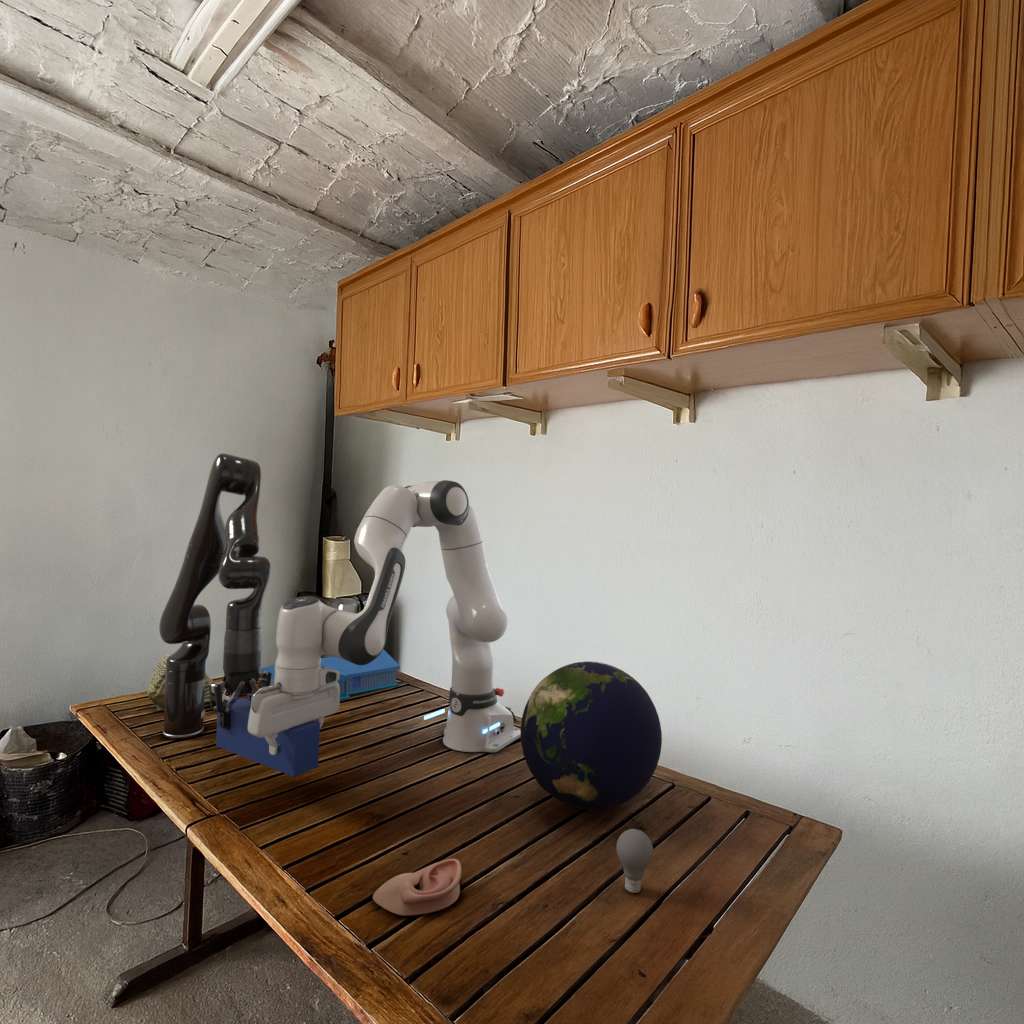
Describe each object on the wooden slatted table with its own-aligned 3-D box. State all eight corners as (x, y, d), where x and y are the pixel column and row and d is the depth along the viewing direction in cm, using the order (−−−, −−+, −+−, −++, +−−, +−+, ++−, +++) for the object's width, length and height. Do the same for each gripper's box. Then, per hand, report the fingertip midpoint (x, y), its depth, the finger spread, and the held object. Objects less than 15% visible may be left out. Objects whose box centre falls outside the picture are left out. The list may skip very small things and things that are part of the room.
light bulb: (610, 879, 108) (613, 822, 108) (644, 879, 109) (647, 822, 109) (619, 902, 102) (622, 840, 102) (655, 901, 103) (658, 840, 103)
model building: (289, 709, 186) (291, 675, 185) (258, 688, 204) (259, 657, 204) (403, 687, 212) (405, 657, 212) (366, 670, 230) (368, 643, 230)
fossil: (144, 707, 182) (145, 655, 182) (212, 696, 194) (213, 647, 194) (151, 716, 175) (153, 662, 175) (221, 703, 188) (223, 653, 188)
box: (215, 746, 137) (217, 704, 137) (240, 737, 142) (242, 697, 142) (293, 777, 124) (295, 731, 124) (318, 767, 129) (320, 723, 129)
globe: (495, 817, 128) (501, 670, 127) (544, 763, 155) (549, 641, 155) (643, 855, 116) (651, 693, 116) (668, 789, 144) (674, 658, 144)
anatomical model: (365, 883, 98) (393, 844, 109) (364, 909, 98) (392, 867, 109) (447, 898, 95) (468, 857, 106) (446, 924, 95) (467, 880, 106)
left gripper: (223, 657, 129) (220, 738, 130) (281, 645, 141) (278, 719, 142) (201, 651, 133) (198, 730, 133) (260, 639, 145) (257, 712, 146)
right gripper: (263, 693, 117) (260, 767, 118) (345, 670, 135) (343, 735, 135) (242, 686, 121) (239, 758, 121) (325, 665, 138) (322, 728, 138)
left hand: (239, 724), depth 138 cm, fingers closed on box, 6 cm apart
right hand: (294, 746), depth 128 cm, fingers open, 8 cm apart
